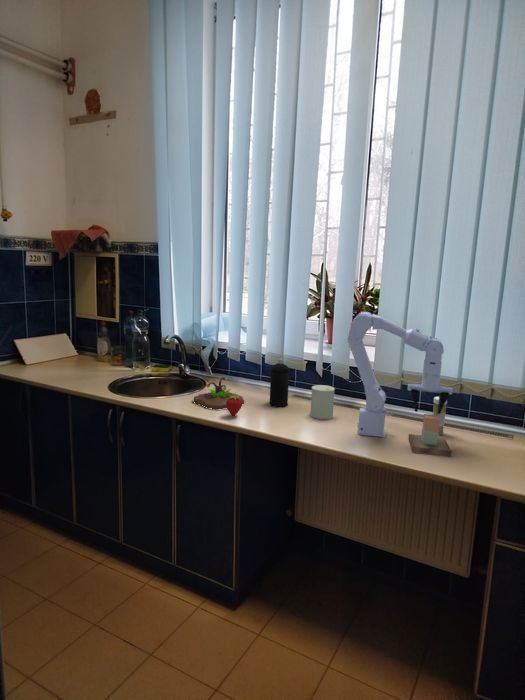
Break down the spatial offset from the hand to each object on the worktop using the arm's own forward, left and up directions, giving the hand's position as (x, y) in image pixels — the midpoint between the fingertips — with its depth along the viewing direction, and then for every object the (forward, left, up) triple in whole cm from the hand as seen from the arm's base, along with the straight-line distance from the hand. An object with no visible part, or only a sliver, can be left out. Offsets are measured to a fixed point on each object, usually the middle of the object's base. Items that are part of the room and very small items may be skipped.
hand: (427, 411), depth 166 cm
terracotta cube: (+1, -7, -4) cm, 8 cm away
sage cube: (+1, -7, -8) cm, 11 cm away
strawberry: (-70, +4, -11) cm, 71 cm away
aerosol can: (-56, +25, -11) cm, 63 cm away
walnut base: (+1, -7, -10) cm, 12 cm away
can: (-37, +16, -11) cm, 42 cm away
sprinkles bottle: (+6, +9, -11) cm, 15 cm away
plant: (-81, +21, -11) cm, 84 cm away
